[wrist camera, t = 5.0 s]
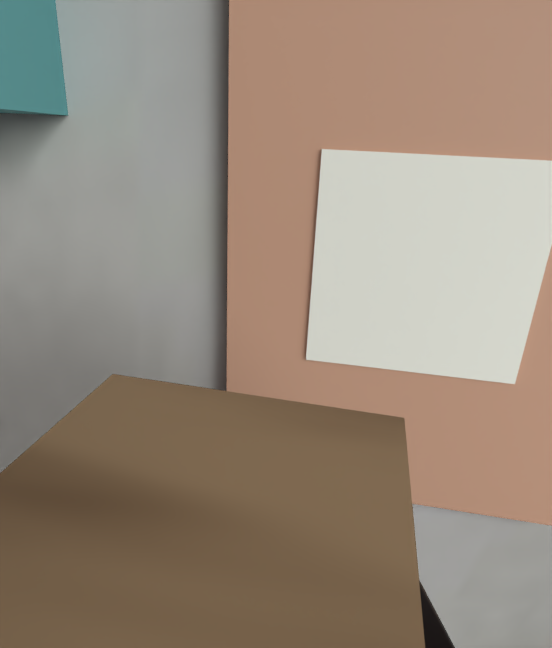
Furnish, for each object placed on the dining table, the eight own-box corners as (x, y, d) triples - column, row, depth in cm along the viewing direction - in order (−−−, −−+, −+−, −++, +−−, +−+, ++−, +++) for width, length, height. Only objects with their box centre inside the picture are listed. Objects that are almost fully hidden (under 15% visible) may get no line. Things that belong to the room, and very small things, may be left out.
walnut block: (365, 632, 9) (352, 1111, 5) (132, 578, 10) (-72, 940, 6) (404, 417, 7) (445, 867, 3) (113, 374, 8) (-221, 666, 4)
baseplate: (552, 509, 20) (563, 530, 19) (231, 460, 22) (224, 477, 21) (749, -80, 12) (787, -102, 11) (238, -71, 14) (227, -88, 13)
